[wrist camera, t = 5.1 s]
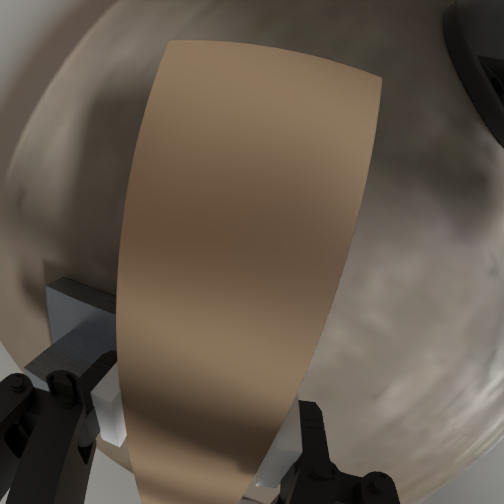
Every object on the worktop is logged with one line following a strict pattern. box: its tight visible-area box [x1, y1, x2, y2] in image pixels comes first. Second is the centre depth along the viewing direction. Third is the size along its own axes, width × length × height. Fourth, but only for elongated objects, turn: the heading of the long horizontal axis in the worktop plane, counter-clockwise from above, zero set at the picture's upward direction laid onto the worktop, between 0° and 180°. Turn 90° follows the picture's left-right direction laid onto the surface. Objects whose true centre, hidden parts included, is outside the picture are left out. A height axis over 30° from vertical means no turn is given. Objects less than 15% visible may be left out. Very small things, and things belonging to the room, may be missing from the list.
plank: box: [116, 40, 383, 504], centre depth 9 cm, size 22×5×4 cm, turn 167°
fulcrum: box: [24, 277, 117, 392], centre depth 13 cm, size 8×8×7 cm
